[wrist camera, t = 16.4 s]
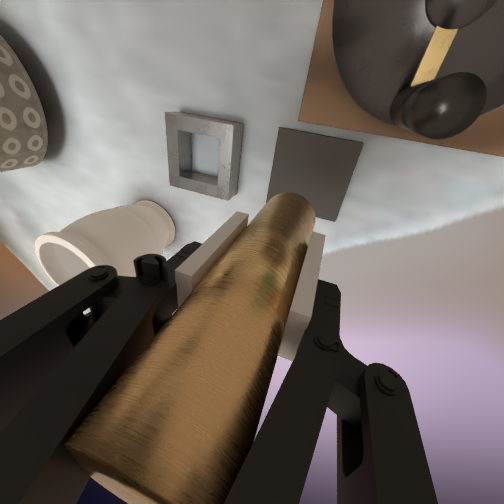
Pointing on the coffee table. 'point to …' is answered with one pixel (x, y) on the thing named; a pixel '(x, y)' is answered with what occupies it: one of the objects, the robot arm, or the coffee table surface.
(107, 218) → the jar
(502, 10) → the handwheel
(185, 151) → the eye block
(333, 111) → the wheel base
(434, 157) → the coffee table surface
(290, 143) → the pad
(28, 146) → the planter
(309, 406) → the robot arm
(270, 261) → the hook peg
